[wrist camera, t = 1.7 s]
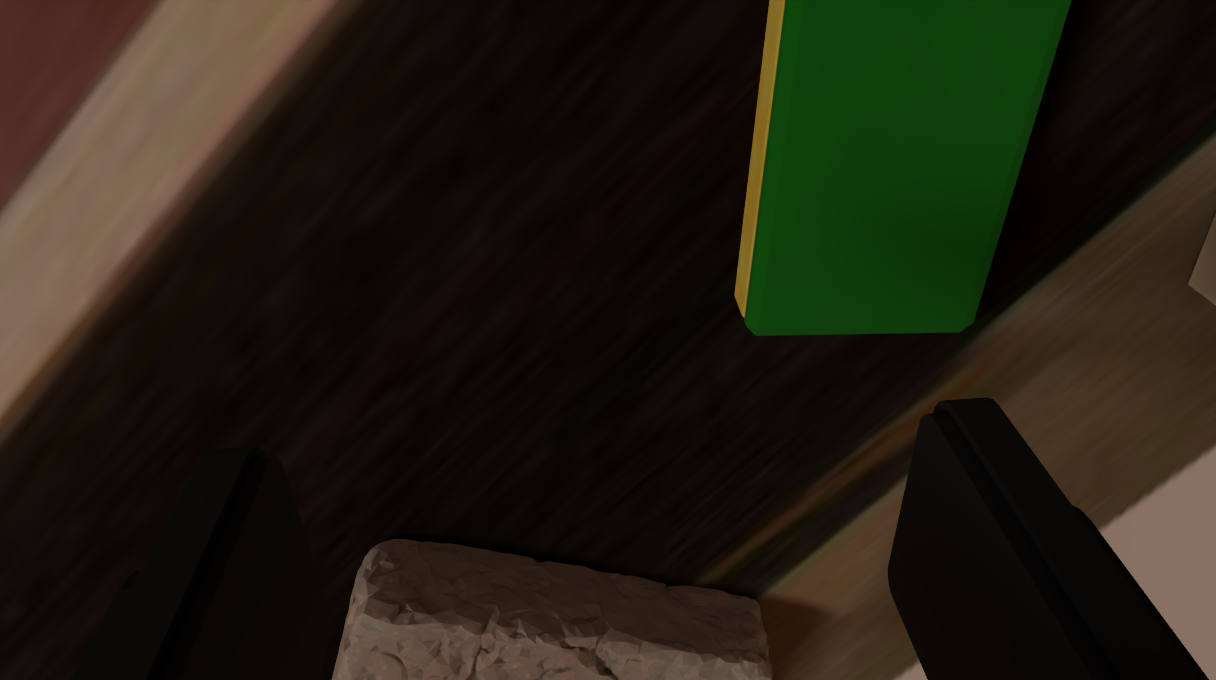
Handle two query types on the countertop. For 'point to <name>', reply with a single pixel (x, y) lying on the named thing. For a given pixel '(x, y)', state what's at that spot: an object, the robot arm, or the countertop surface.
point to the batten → (1206, 267)
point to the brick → (537, 622)
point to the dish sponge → (887, 159)
